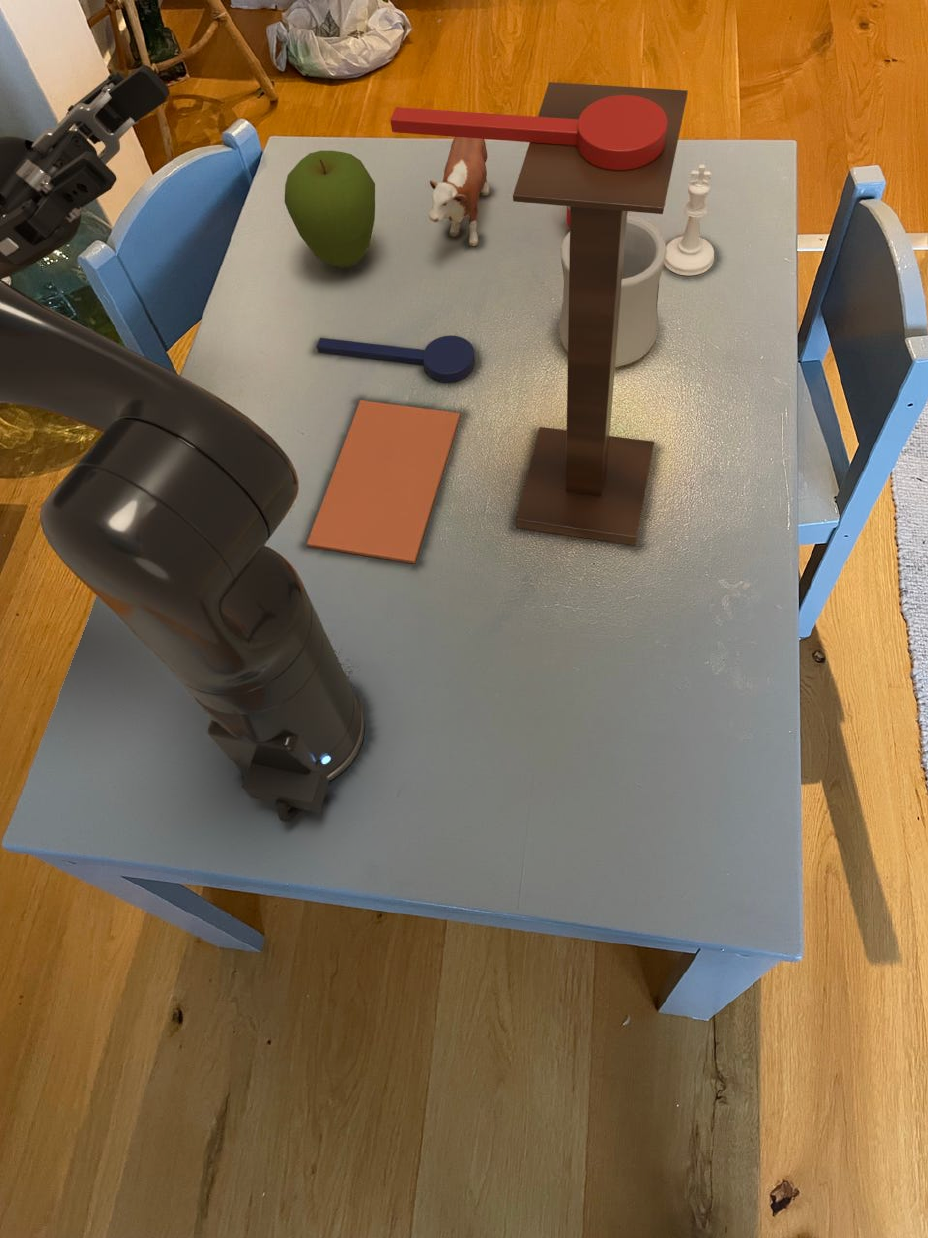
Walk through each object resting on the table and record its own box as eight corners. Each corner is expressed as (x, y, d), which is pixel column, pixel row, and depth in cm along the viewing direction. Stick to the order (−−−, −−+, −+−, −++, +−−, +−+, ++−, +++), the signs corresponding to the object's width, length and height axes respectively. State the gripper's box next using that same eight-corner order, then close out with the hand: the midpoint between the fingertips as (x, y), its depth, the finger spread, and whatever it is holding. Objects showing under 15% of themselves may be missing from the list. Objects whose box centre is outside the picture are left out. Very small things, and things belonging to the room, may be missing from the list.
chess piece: (711, 277, 90) (728, 185, 81) (660, 273, 90) (671, 182, 82) (715, 242, 92) (732, 149, 83) (665, 239, 93) (676, 146, 84)
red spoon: (658, 174, 49) (661, 153, 48) (383, 152, 52) (379, 132, 51) (671, 117, 52) (673, 96, 50) (405, 100, 54) (402, 80, 53)
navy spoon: (468, 385, 86) (467, 376, 85) (312, 366, 89) (309, 357, 88) (480, 347, 88) (479, 338, 87) (327, 329, 91) (324, 320, 90)
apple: (318, 300, 93) (289, 200, 83) (294, 248, 97) (263, 147, 87) (399, 272, 94) (380, 169, 84) (372, 222, 98) (351, 118, 87)
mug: (674, 351, 86) (687, 263, 77) (584, 385, 85) (587, 299, 76) (614, 267, 91) (621, 177, 83) (529, 298, 90) (526, 209, 82)
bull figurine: (429, 266, 94) (418, 196, 87) (460, 179, 100) (453, 106, 92) (471, 271, 93) (464, 200, 86) (500, 182, 99) (496, 109, 92)
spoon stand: (635, 545, 76) (683, 209, 48) (516, 527, 78) (494, 193, 50) (653, 450, 80) (705, 90, 52) (539, 435, 82) (531, 80, 54)
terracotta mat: (415, 563, 77) (414, 561, 77) (307, 546, 79) (306, 543, 78) (460, 415, 84) (460, 412, 84) (361, 402, 86) (360, 399, 86)
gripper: (-99, 241, 61) (27, 145, 52) (-1, 107, 68) (128, -1, 58) (1, 321, 66) (134, 247, 57) (84, 190, 73) (216, 103, 63)
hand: (131, 122), depth 57 cm, fingers open, 8 cm apart
